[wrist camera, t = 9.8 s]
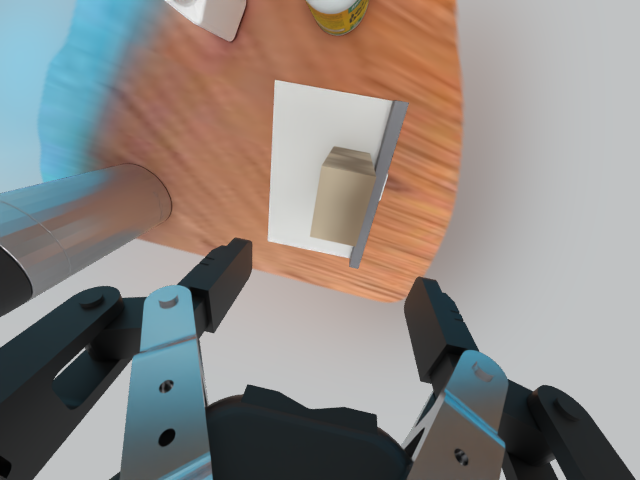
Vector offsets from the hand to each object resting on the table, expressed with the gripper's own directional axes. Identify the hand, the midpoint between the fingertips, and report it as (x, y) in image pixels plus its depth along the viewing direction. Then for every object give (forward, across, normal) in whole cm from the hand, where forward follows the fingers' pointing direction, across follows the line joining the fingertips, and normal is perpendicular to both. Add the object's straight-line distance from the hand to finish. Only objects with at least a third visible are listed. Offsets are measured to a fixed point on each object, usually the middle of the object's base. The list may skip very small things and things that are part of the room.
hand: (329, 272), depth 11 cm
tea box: (+18, 0, 0) cm, 18 cm away
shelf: (+20, +2, +1) cm, 20 cm away
